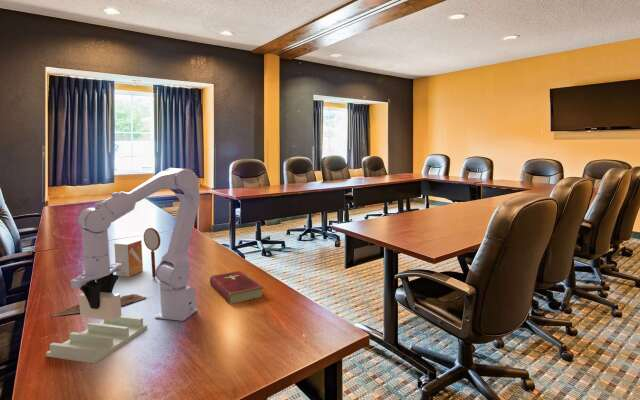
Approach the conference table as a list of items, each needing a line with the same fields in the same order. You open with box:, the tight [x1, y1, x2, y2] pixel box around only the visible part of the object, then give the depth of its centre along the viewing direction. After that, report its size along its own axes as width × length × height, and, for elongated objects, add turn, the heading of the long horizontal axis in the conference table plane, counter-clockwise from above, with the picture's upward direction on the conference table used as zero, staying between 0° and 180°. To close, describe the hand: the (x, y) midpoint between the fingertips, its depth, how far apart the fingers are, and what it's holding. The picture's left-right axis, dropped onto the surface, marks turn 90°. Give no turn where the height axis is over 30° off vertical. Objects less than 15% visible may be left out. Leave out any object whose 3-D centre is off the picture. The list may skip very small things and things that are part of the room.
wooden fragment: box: [52, 293, 147, 317], centre depth 122 cm, size 26×11×1 cm, turn 120°
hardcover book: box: [209, 270, 264, 305], centre depth 135 cm, size 12×21×4 cm, turn 32°
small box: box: [113, 238, 144, 278], centre depth 153 cm, size 8×6×13 cm
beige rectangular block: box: [78, 292, 122, 321], centre depth 100 cm, size 10×3×6 cm, turn 77°
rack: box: [45, 315, 148, 364], centre depth 100 cm, size 14×18×3 cm
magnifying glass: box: [143, 227, 161, 280], centre depth 146 cm, size 9×2×20 cm, turn 61°
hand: (100, 305), depth 100 cm, fingers closed on beige rectangular block, 3 cm apart
